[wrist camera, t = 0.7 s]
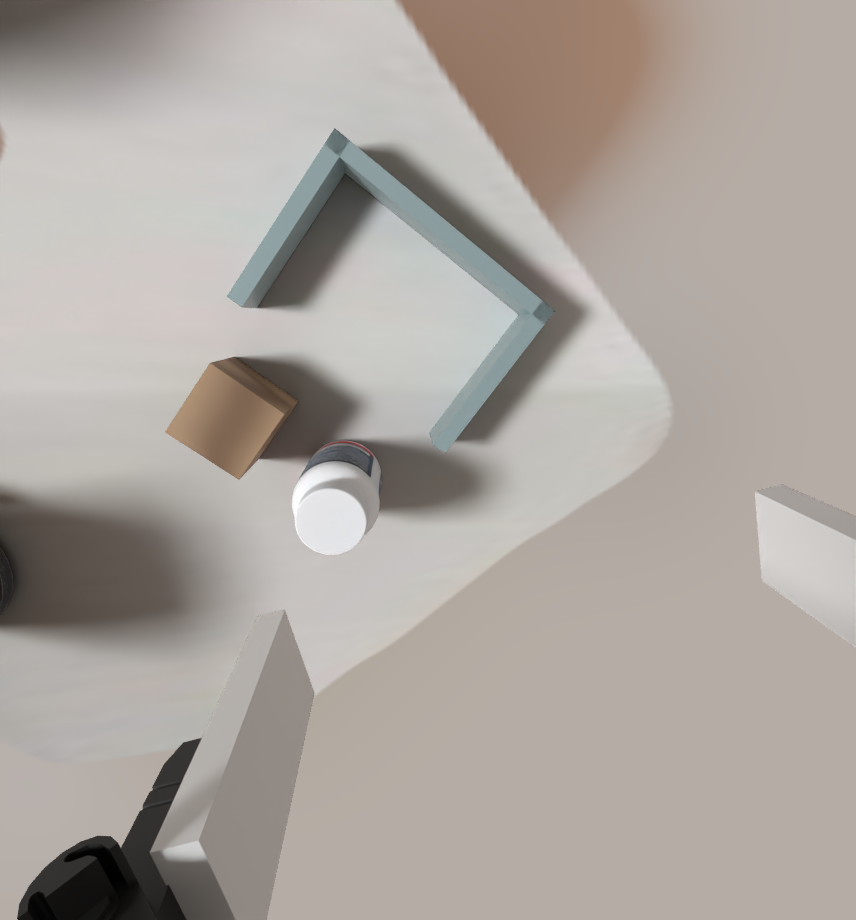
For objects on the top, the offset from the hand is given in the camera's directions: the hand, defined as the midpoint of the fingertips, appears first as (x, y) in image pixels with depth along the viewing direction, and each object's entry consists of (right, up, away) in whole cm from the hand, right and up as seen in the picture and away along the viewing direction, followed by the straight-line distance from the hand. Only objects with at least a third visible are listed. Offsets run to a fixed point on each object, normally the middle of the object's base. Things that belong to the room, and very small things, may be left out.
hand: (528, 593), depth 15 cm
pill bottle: (-9, +3, +24) cm, 25 cm away
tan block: (-15, +7, +22) cm, 27 cm away
